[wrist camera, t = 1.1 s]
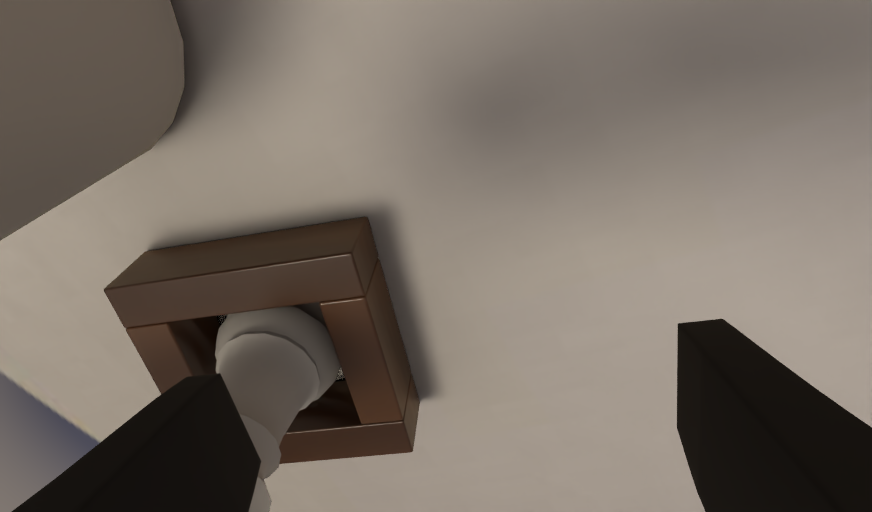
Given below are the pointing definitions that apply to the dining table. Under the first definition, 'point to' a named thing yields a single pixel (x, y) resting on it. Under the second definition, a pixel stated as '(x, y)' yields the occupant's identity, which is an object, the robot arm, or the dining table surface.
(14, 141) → the can
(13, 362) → the dining table surface
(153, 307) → the holder
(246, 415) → the rook chess piece
